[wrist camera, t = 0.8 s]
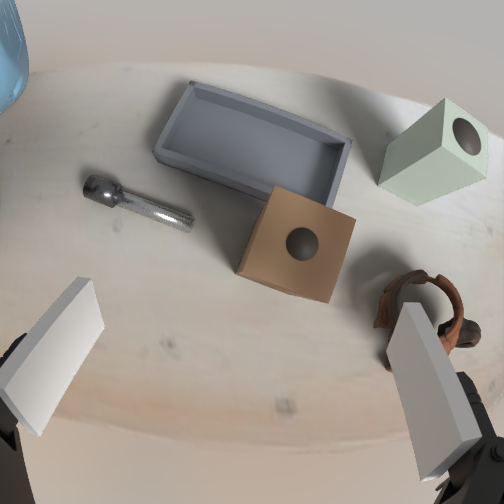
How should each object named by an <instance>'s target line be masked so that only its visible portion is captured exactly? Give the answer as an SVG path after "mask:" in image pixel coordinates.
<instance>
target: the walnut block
mask: <svg viewBox="0 0 504 504" xmlns="http://www.w3.org/2000/svg"><path fill="white" fill-rule="evenodd" d="M355 222H356V219H354V218H352V217H349V216H347V215H345V214H343V213H340V212H338V211H336V210H333V209H331V208H329V207H326V206H324V205H322V204H319V203H317V202H315V201H312V200H310V199H308V198H305V197H303V196H300V195H298V194H295V193H293V192H290V191H288V190H286V189H283V188H281V187H278V186H274V188H273V190H272V192H271V194H270V196H269V198H268V200H267V201H266V203H265V205H264V207H263V209H262V211H261V213H260V215H259V217H258V218H257V220H256V223H255V225H254V228H253V230H252V233H251V236H250V238H249V241H248V243H247V246H246V249H245V251H244V254H243V257H242V259H241V262H240V264H239V267H238V270H237V272H236V275H238V276H241V277H244V278H246V279H249V280H252V281H254V282H257V283H260V284H262V285H265V286H268V287H270V288H273V289H276V290H278V291H281V292H284V293H286V294H289V295H293V296H298V297H302V298H306V299H311V300H315V301H319V302H324V303H328V304H329V301H330V298H331V295H332V292H333V290H334V287H335V284H336V281H337V278H338V275H339V272H340V269H341V266H342V263H343V260H344V257H345V254H346V251H347V248H348V245H349V241H350V238H351V235H352V232H353V228H354V225H355Z"/></svg>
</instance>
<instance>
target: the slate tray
mask: <svg viewBox="0 0 504 504" xmlns="http://www.w3.org/2000/svg"><path fill="white" fill-rule="evenodd" d="M352 141H353V140H351V139H349V138H347V137H345V136H343V135H341V134H338V133H336V132H334V131H332V130H329V129H327V128H325V127H323V126H320V125H318V124H316V123H313V122H311V121H308V120H306V119H303V118H301V117H299V116H296V115H294V114H291V113H288V112H286V111H283V110H281V109H278V108H275V107H273V106H270V105H267V104H264V103H261V102H259V101H256V100H253V99H250V98H247V97H244V96H241V95H238V94H235V93H232V92H229V91H225V90H222V89H219V88H216V87H212V86H209V85H205V84H202V83H198V82H195V81H190V83H189V85H188V86H187V88H186V90H185V91H184V93H183V95H182V97H181V98H180V100H179V102H178V104H177V105H176V107H175V109H174V111H173V113H172V114H171V116H170V118H169V120H168V122H167V124H166V125H165V127H164V129H163V131H162V133H161V135H160V137H159V139H158V141H157V143H156V145H155V147H154V149H153V151H152V152H153V154H154V156H155V158H156V160H157V161H158V162H159V163H162V164H165V165H168V166H171V167H174V168H177V169H179V170H182V171H185V172H188V173H191V174H194V175H196V176H199V177H202V178H205V179H207V180H210V181H213V182H216V183H218V184H221V185H224V186H226V187H229V188H232V189H234V190H237V191H240V192H242V193H245V194H248V195H250V196H253V197H255V198H258V199H261V200H263V201H267V200H268V198H269V196H270V194H271V192H272V190H273V188H274V186H278V187H281V188H283V189H286V190H288V191H290V192H293V193H295V194H298V195H300V196H303V197H305V198H308V199H310V200H312V201H315V202H317V203H319V204H322V205H324V206H326V207H329V208H331V209H332V207H333V204H334V201H335V197H336V194H337V191H338V188H339V185H340V181H341V178H342V175H343V171H344V168H345V165H346V161H347V158H348V154H349V151H350V148H351V144H352Z"/></svg>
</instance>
